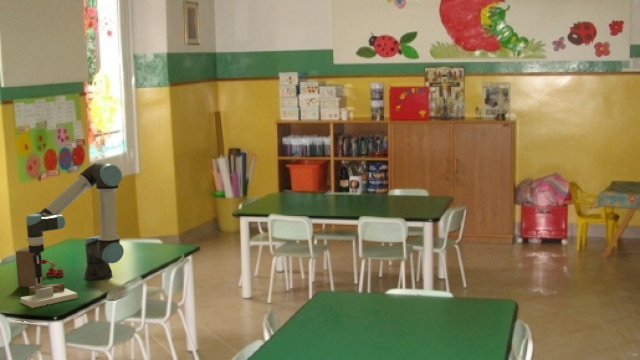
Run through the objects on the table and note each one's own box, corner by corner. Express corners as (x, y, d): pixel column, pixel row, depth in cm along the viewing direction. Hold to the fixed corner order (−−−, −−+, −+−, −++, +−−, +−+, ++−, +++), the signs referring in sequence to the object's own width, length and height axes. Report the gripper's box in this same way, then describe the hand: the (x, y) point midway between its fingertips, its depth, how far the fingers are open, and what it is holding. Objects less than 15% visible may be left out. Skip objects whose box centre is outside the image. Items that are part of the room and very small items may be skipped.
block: (34, 287, 462) (31, 251, 460) (17, 287, 464) (14, 251, 462) (43, 282, 472) (41, 247, 469) (27, 282, 474) (24, 247, 471)
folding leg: (64, 288, 447) (64, 282, 447) (64, 290, 444) (64, 284, 444) (29, 292, 442) (29, 286, 442) (29, 293, 439) (29, 287, 439)
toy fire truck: (61, 277, 483) (59, 260, 482) (40, 276, 488) (39, 259, 486) (64, 276, 486) (63, 259, 485) (44, 274, 491) (43, 258, 489)
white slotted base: (65, 292, 450) (64, 280, 449) (77, 297, 439) (76, 285, 439) (20, 302, 434) (19, 289, 433) (32, 307, 424) (31, 295, 423)
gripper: (27, 242, 445) (30, 286, 449) (29, 247, 433) (32, 293, 437) (42, 241, 448) (45, 285, 451) (44, 246, 436) (48, 291, 440)
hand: (39, 289), depth 444 cm, fingers closed
